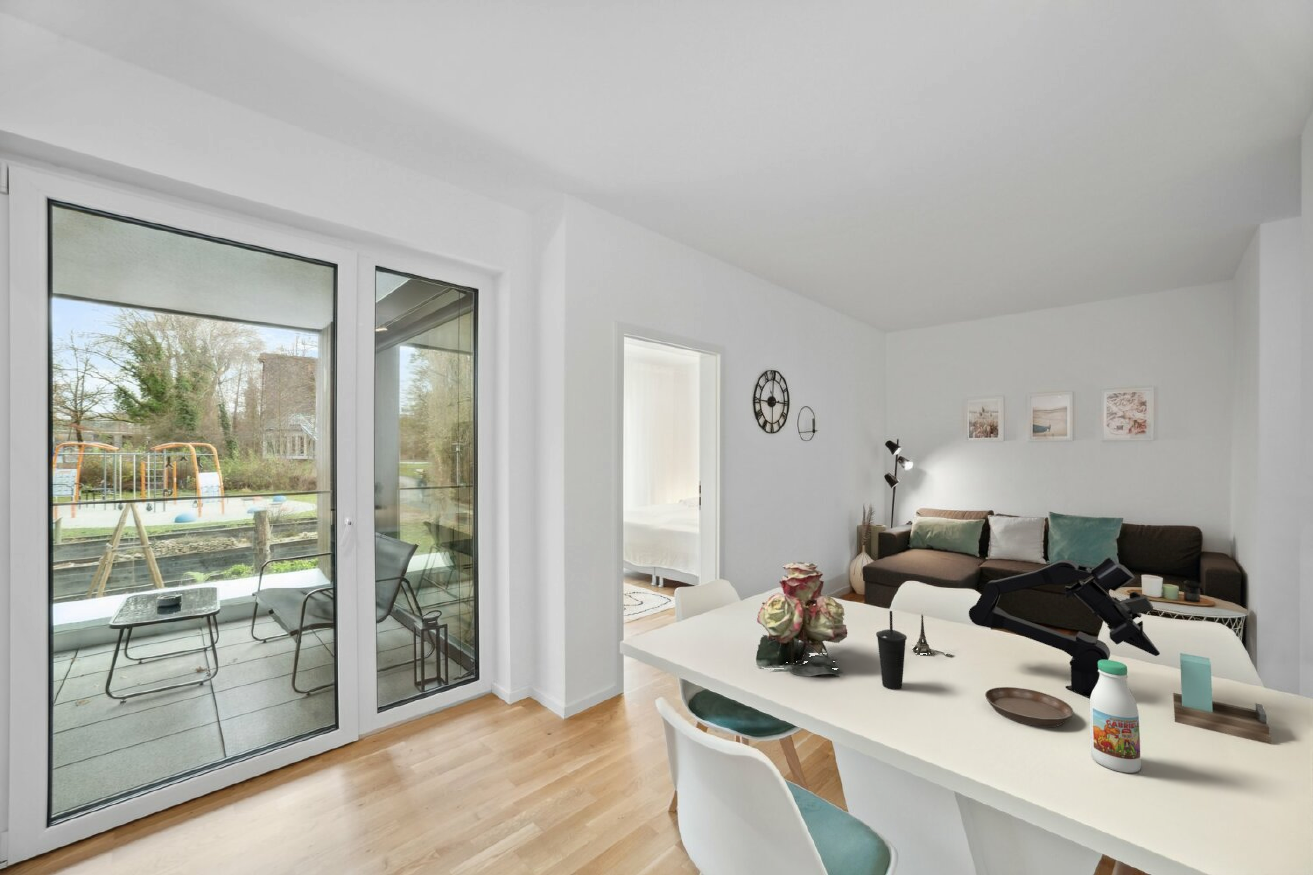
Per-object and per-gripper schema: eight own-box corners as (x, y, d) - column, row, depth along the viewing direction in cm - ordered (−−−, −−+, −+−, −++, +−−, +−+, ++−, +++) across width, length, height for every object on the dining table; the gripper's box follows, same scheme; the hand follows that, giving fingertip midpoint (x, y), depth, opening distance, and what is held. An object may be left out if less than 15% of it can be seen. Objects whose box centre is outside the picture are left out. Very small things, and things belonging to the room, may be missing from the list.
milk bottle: (1081, 753, 115) (1078, 656, 115) (1115, 752, 115) (1112, 655, 116) (1115, 775, 107) (1111, 671, 108) (1151, 773, 108) (1148, 669, 108)
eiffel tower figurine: (956, 657, 171) (955, 614, 171) (940, 665, 165) (939, 619, 165) (910, 644, 183) (909, 604, 183) (893, 651, 177) (892, 609, 177)
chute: (1174, 721, 128) (1174, 699, 128) (1173, 702, 138) (1172, 682, 138) (1270, 744, 118) (1269, 720, 118) (1262, 722, 128) (1261, 700, 128)
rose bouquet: (751, 673, 157) (750, 568, 158) (769, 641, 185) (768, 551, 186) (846, 687, 148) (844, 575, 149) (850, 651, 175) (849, 556, 176)
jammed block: (1182, 711, 130) (1180, 659, 130) (1181, 702, 134) (1180, 653, 135) (1212, 718, 127) (1210, 665, 127) (1210, 709, 131) (1209, 658, 131)
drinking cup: (907, 683, 150) (906, 609, 151) (907, 694, 144) (906, 616, 144) (877, 678, 154) (876, 606, 154) (876, 688, 147) (874, 613, 147)
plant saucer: (968, 704, 138) (968, 692, 138) (1018, 693, 144) (1017, 681, 144) (1039, 738, 122) (1039, 724, 122) (1091, 724, 128) (1091, 710, 128)
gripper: (1125, 589, 132) (1191, 646, 125) (1128, 576, 146) (1188, 627, 138) (1085, 616, 137) (1146, 672, 130) (1092, 601, 151) (1147, 651, 143)
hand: (1158, 654), depth 135 cm, fingers closed
